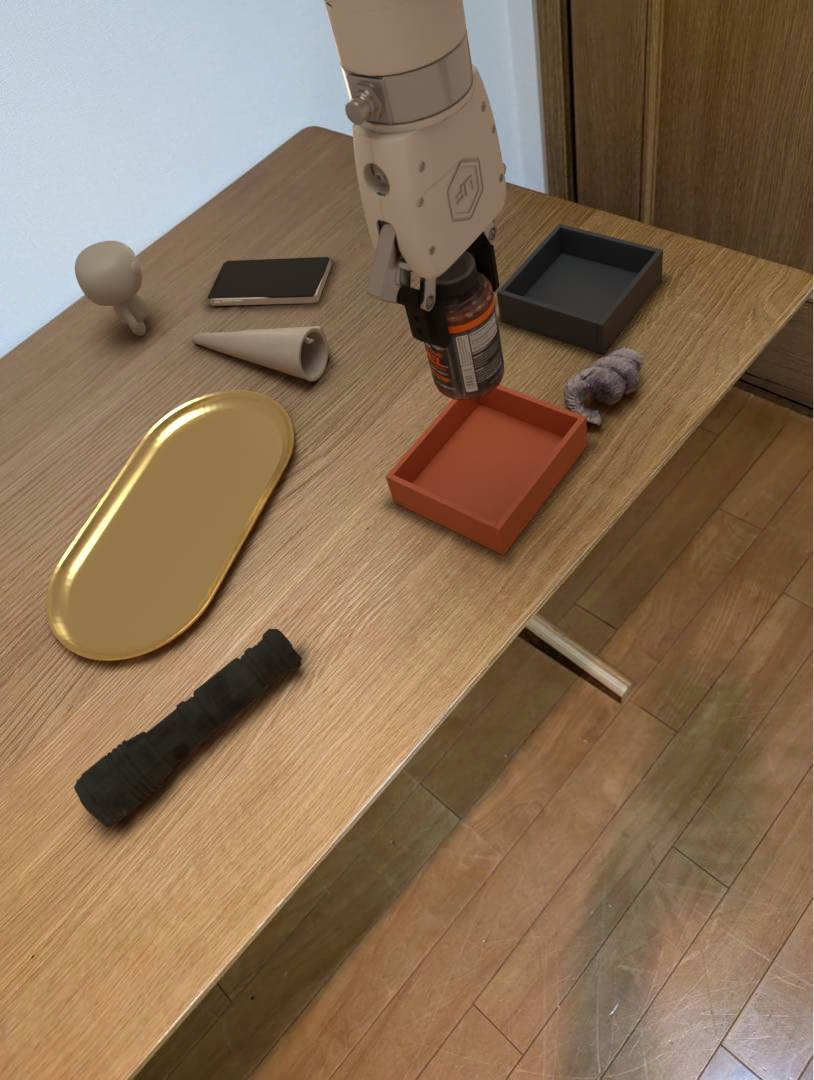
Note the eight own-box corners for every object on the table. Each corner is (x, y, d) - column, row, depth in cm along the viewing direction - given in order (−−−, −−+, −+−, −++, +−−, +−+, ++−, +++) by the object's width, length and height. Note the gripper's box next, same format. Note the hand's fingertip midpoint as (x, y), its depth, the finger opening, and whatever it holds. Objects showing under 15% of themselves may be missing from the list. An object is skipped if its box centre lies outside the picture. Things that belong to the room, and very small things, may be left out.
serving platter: (18, 641, 84) (9, 633, 83) (187, 390, 101) (181, 380, 100) (172, 688, 78) (164, 680, 76) (325, 410, 95) (321, 401, 94)
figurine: (174, 335, 108) (131, 256, 99) (119, 358, 108) (70, 281, 98) (162, 301, 113) (120, 222, 103) (109, 323, 113) (62, 246, 103)
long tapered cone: (158, 345, 101) (292, 350, 92) (187, 315, 105) (318, 316, 96) (179, 384, 105) (309, 392, 96) (206, 353, 108) (334, 358, 100)
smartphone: (315, 297, 105) (205, 300, 109) (318, 305, 106) (209, 307, 110) (330, 255, 110) (224, 260, 113) (332, 263, 111) (227, 267, 114)
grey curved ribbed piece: (580, 439, 87) (636, 380, 90) (608, 422, 82) (666, 361, 85) (545, 400, 86) (603, 343, 90) (571, 381, 81) (631, 321, 85)
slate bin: (662, 280, 96) (663, 249, 93) (602, 354, 91) (602, 325, 88) (560, 252, 102) (558, 223, 99) (500, 320, 98) (496, 292, 94)
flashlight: (93, 794, 73) (62, 773, 69) (282, 639, 78) (264, 612, 74) (118, 836, 70) (89, 818, 66) (313, 673, 76) (296, 647, 72)
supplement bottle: (420, 377, 71) (391, 265, 62) (478, 342, 72) (458, 227, 63) (459, 415, 68) (434, 302, 59) (520, 378, 69) (504, 262, 60)
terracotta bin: (587, 445, 84) (586, 416, 81) (503, 555, 79) (499, 530, 76) (478, 402, 91) (473, 374, 88) (393, 502, 85) (384, 476, 82)
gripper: (371, 167, 45) (432, 403, 60) (538, 8, 52) (557, 256, 66) (271, 145, 49) (351, 373, 63) (439, -1, 55) (477, 236, 70)
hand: (456, 311), depth 65 cm, fingers closed on supplement bottle, 5 cm apart
